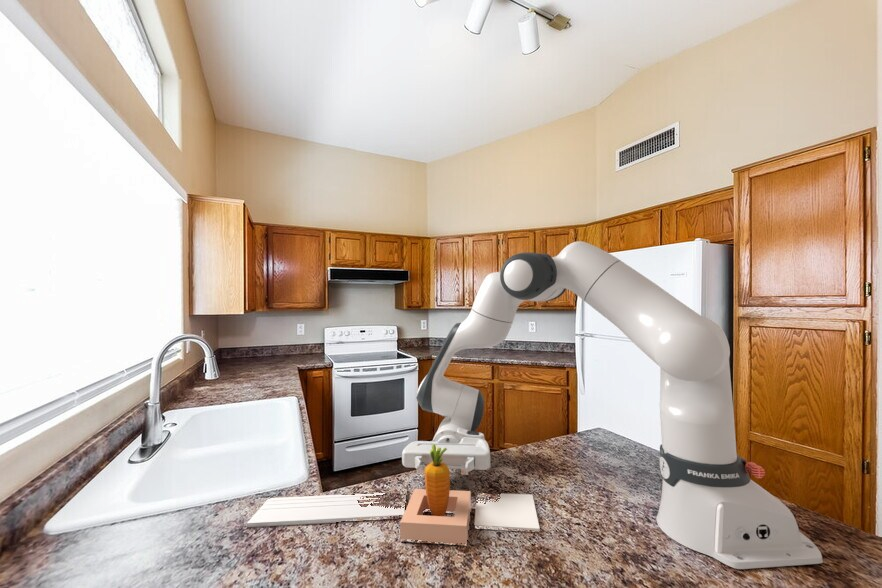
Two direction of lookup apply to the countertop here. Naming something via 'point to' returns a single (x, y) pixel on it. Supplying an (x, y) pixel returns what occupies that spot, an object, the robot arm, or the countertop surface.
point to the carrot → (437, 483)
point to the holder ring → (437, 519)
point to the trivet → (508, 512)
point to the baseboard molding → (318, 510)
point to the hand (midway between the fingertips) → (441, 470)
